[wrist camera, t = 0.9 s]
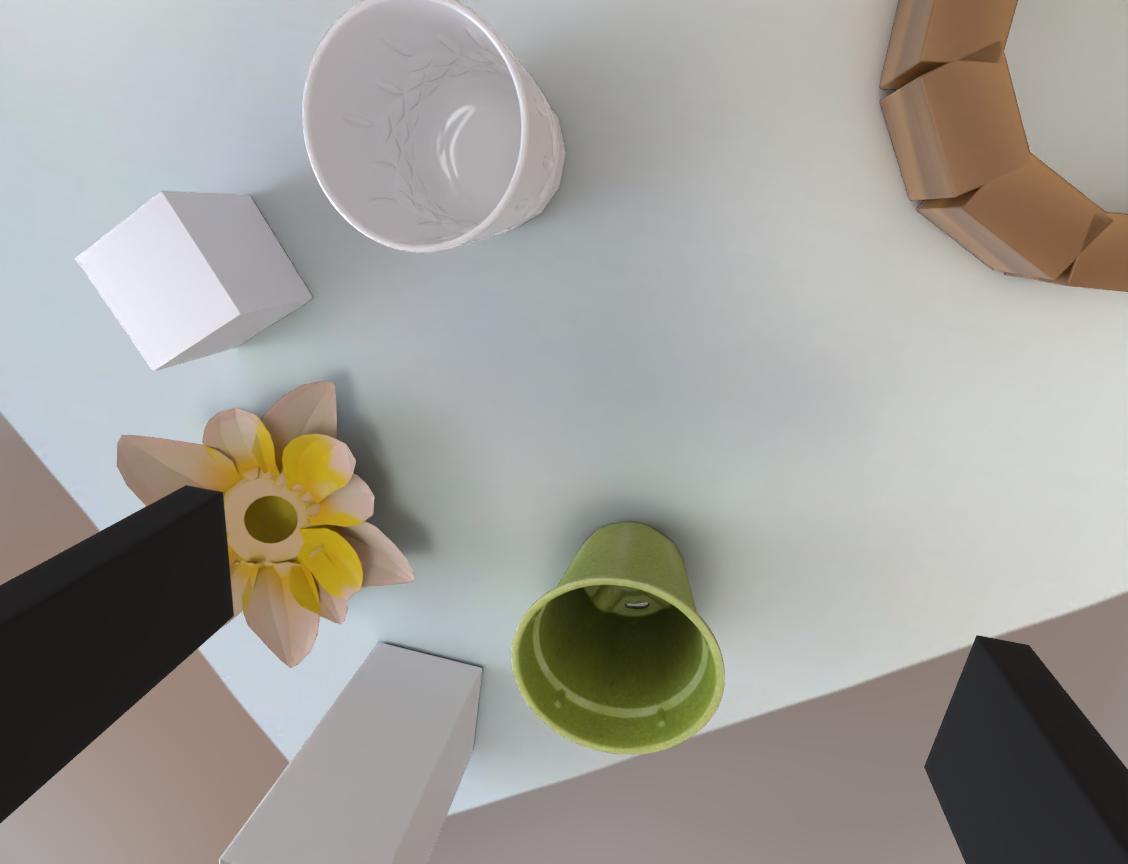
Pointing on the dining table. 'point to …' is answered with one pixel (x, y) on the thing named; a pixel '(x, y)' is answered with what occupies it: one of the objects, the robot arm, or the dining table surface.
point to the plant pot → (620, 647)
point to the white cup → (428, 126)
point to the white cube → (193, 275)
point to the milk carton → (372, 768)
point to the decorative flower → (279, 512)
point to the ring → (987, 151)
